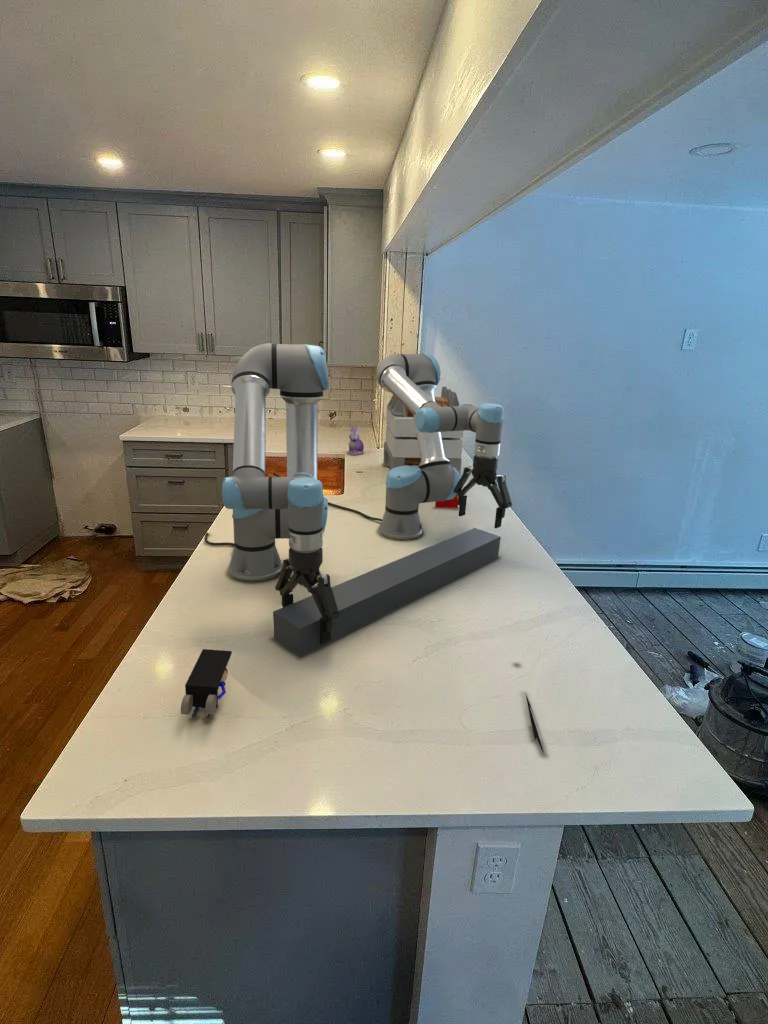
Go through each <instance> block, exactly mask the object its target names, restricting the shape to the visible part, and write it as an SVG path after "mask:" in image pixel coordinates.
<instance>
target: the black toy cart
mask: <svg viewBox="0 0 768 1024" xmlns="http://www.w3.org/2000/svg"><path fill="white" fill-rule="evenodd" d="M232 653H233V652H232V650H224V649H223V650H222V649H210V648H209V649H208V648H202V650H201V652H200V653H199V656H198V658H197V660H196V662H195V664H194V665H193V667H192V670H191V672H190V675H189V676H188V678H187V681H186V683H185V685H184V688H185V694H184V696H183V697H182V699H181V704H180V714H181V715H190V714H191V712H192V709H193V708H194V709H193V712H192V714H191V718H192V719H193V720H194V719H195V718H197V716H198V713H199V709H204V713H205V715H206V719H207V720H209V719H210V718H211V717H212V715H214V714H215V712H216V710H217V709H218V708H219V702H220V700H221V699H222V698H223V697H224V696H225V695H226V693H227V691H226V681H227V679H228V675H229V671H228V668H227V666H228V664H229V662H230V658H231V656H232ZM219 688H221V692H220V693H219Z"/></svg>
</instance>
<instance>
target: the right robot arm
mask: <svg viewBox="0 0 768 1024" xmlns="http://www.w3.org/2000/svg"><path fill="white" fill-rule="evenodd" d="M438 361H439V360H437V358H436V357H434V356H433V355H431V354H424V353H393V354H389V355H387V356H385V357H384V358H383V359H381V361H380V362H379V364H378V365H377V367H376V373H375V375H376V381H377V383H378V384H379V386H380V387H381V388H382V389H383V390H384V391H385V392H387V393H390V394H392V396H393V395H394V396H395V397H396V398H397V399H398V400H399V401H400V402H401V403H402V404H403V405H404V406H405V407H406V408H407V409H408V410H409V411H410V412H411V413H412V414H413V417H414V423H415V429H416V434H417V440H418V446H419V451H420V457H421V463H420V464H419V466H407V465H404V466H399V467H395V468H393V469H391V470H390V469H389V470H388V472H387V475H386V479H385V504H384V505H385V507H384V508H385V509H384V513H383V515H382V518H378V517H373V516H369V515H367V514H365V513H363V512H362V511H359V510H356V509H353V508H350V507H346V506H342V505H339V504H336V503H332V502H330V501H328V506H332V507H335V508H338V509H341V510H345V511H349V512H353V513H356V514H359V515H360V516H362V517H364V518H367V519H369V520H372V521H378V522H379V526H378V533H379V534H380V535H381V536H382V537H385V538H387V539H389V540H395V541H410V540H415V539H418V538H420V537H421V536H422V535H423V525H422V523H421V518H420V515H419V507H420V506H419V505H420V504H425V503H426V504H427V503H434V502H435V501H445V500H450V499H452V498H454V497H455V496H456V495H457V494H458V517H464V516H466V511H467V510H466V509H467V501H468V495H467V493H468V492H469V491H470V490H471V489H472V488H473V487H475V485H478V486H482V487H484V488H486V487H487V489H488V490H489V491H490V493H491V495H492V496H493V499H494V501H495V503H496V504H497V506H498V507H496V509H495V517H494V525H493V527H494V529H499V528H501V527H502V522H503V519H504V518H505V517H506V509H509V508H511V507H512V506H513V502H512V499H511V496H510V493H509V489H508V485H507V482H506V481H507V476H506V475H505V474H502V475H500V474H497V471H498V467H499V456H500V450H501V440H502V433H503V424H504V420H505V419H504V411H505V409H504V407H503V406H502V405H501V404H496V403H490V402H489V403H487V402H486V403H481V404H479V405H478V406H475V405H472V404H469V403H468V404H467V403H461V404H459V406H454V407H441V406H439V405H438V404H437V403H436V402H435V399H434V397H435V392H436V391H437V389H438V387H437V386H438V385H439V383H440V382H441V376H442V374H441V373H442V371H441V366H440V363H439V362H438ZM446 431H470V432H473V433H475V440H474V451H473V453H474V456H473V460H472V466H471V465H468V466H466V467H463V471H462V472H463V473H462V474H460V475H459V472H458V471H457V469H456V468H454V467H451V464H450V460H448V459H447V458H445V455H444V449H443V444H442V438H441V432H446ZM472 467H473V468H472ZM272 475H273V476H274V477H281V476H280V475H278V474H277V473H276V472H272ZM471 475H472V478H471V479H470V480H469V481H468V479H469V478H470V476H471ZM467 481H468V483H467ZM466 483H467V484H466Z"/></svg>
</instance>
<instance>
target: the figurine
mask: <svg viewBox="0 0 768 1024" xmlns="http://www.w3.org/2000/svg"><path fill="white" fill-rule="evenodd" d="M359 428H360V425H359V424H357V425H356V426H355V427H354V426H353V425H351V426H350V433H349V435H348V438H349V442H348V455H353V456H356V455H362V454H364V448H365V447H364V442H363V440H361V438H360V436H361V435H360V434H359Z"/></svg>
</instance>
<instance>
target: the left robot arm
mask: <svg viewBox="0 0 768 1024" xmlns="http://www.w3.org/2000/svg"><path fill="white" fill-rule="evenodd" d="M271 389H272V390H279V397H280V398H281V399H282V400H283V401H284V402H285V429H286V431H285V432H286V433H285V436H286V476H280V477H277V476H266V442H267V441H266V433H267V432H266V431H267V430H266V428H267V427H266V426H267V425H266V424H267V423H266V421H267V419H266V417H267V414H266V413H267V412H266V411H267V410H266V409H267V407H266V406H267V397H268V396H269V394H270V391H271ZM328 390H329V373H328V366H327V359H326V354H325V351H324V349H323V348H322V347H321V346H320V345H314V344H307V343H305V344H292V343H291V344H290V343H288V344H287V343H269V342H267V343H261V344H258V345H256V346H254V347H252V348H250V349H249V350H248V351H246V352H245V353H244V354H243V355H242V356H241V358H240V359H239V361H238V362H237V364H236V366H235V368H234V370H233V372H232V377H231V392H232V394H233V395H234V396H235V398H234V420H233V421H234V422H233V423H234V424H233V448H232V449H233V451H232V453H233V454H232V475H231V476H226V477H223V479H222V484H221V485H222V486H221V488H222V489H221V491H222V493H221V495H222V504H223V506H224V508H226V510H232V514H231V517H232V521H233V522H232V523H233V524H232V525H233V542H212V541H209V539H208V537H209V532H206V533H205V535H204V543H206V544H207V545H210V546H231V547H234V548H233V551H232V554H231V558H230V560H229V565H228V571H229V572H228V573H229V575H230V577H232V578H233V579H235V580H238V581H241V582H247V583H248V582H249V583H255V582H265V581H268V580H272V579H274V578H276V577H278V579H277V581H276V585H275V586H274V589H275V591H276V592H279V594H280V596H281V608H283V607H285V606H288V605H290V604H292V603H294V594H293V592H294V589H295V588H296V587H297V586H298V585H299V586H302V587H304V588H305V589H306V590H307V591H308V593H309V594H311V596H313V598H314V600H315V603H316V605H317V607H318V609H319V611H320V613H321V616H322V617H321V618H320V644H321V645H323V644H325V643H327V642H329V641H331V630H332V620H333V619H335V618H337V617H339V611H338V608H337V605H336V601H335V598H334V595H333V591H332V588H331V587H332V585H331V576H330V574H328V573H327V574H322V573H321V571H320V567H321V565H322V564H323V560H324V559H323V553H324V551H323V549H324V548H323V545H324V533H325V530H326V527H327V519H328V509H329V504H328V502H329V500H328V498H327V497H325V496H324V490H323V483H322V481H321V480H319V479H318V469H319V468H318V461H319V460H318V457H319V456H318V454H319V453H318V448H319V447H318V443H319V442H318V441H319V439H318V427H319V426H318V423H319V422H318V420H319V419H318V418H319V417H318V412H319V411H318V406H319V405H318V404H319V402H320V401H321V400H322V399H323V398H324V391H328ZM276 539H281V540H282V539H288V546H289V548H288V558H285V559H283V560H282V559H281V557H280V554H279V552H278V548H277V547H276V546H277V545H276Z"/></svg>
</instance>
